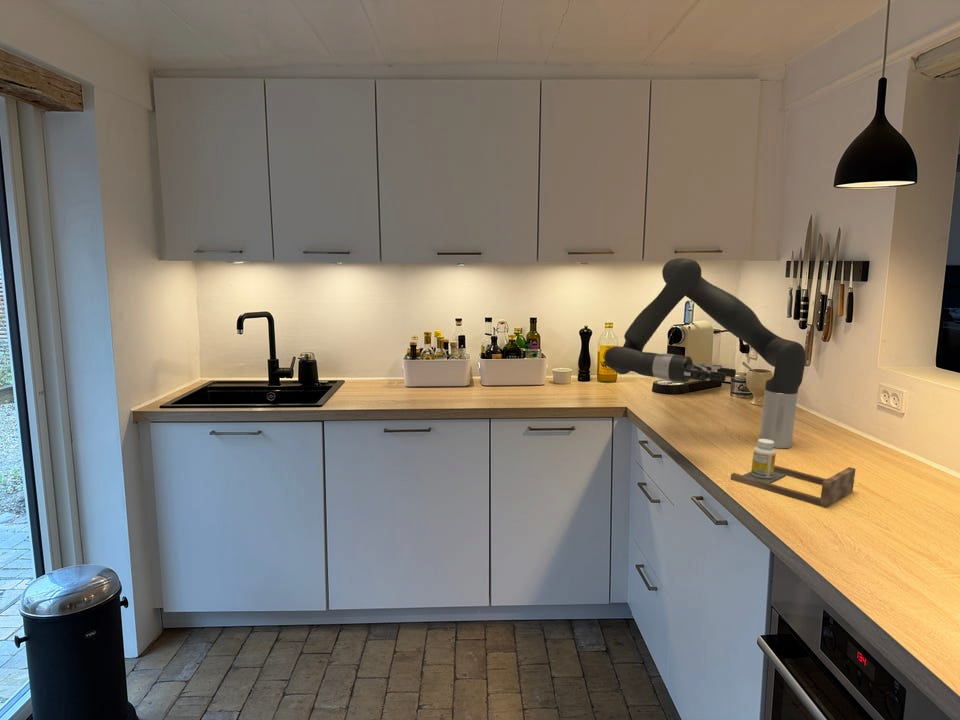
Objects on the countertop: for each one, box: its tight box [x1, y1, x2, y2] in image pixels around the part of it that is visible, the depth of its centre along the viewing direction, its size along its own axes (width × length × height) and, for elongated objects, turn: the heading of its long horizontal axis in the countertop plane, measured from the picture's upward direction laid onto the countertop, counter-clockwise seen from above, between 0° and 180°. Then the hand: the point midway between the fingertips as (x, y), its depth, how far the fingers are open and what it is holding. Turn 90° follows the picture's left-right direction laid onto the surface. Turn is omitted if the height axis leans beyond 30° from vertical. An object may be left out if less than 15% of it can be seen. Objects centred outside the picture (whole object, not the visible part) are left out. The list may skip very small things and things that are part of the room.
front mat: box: [742, 471, 787, 484], centre depth 165 cm, size 12×7×1 cm, turn 131°
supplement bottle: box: [750, 438, 777, 479], centre depth 164 cm, size 5×5×10 cm
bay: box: [730, 464, 857, 508], centre depth 159 cm, size 17×24×6 cm
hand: (730, 375), depth 167 cm, fingers open, 8 cm apart
